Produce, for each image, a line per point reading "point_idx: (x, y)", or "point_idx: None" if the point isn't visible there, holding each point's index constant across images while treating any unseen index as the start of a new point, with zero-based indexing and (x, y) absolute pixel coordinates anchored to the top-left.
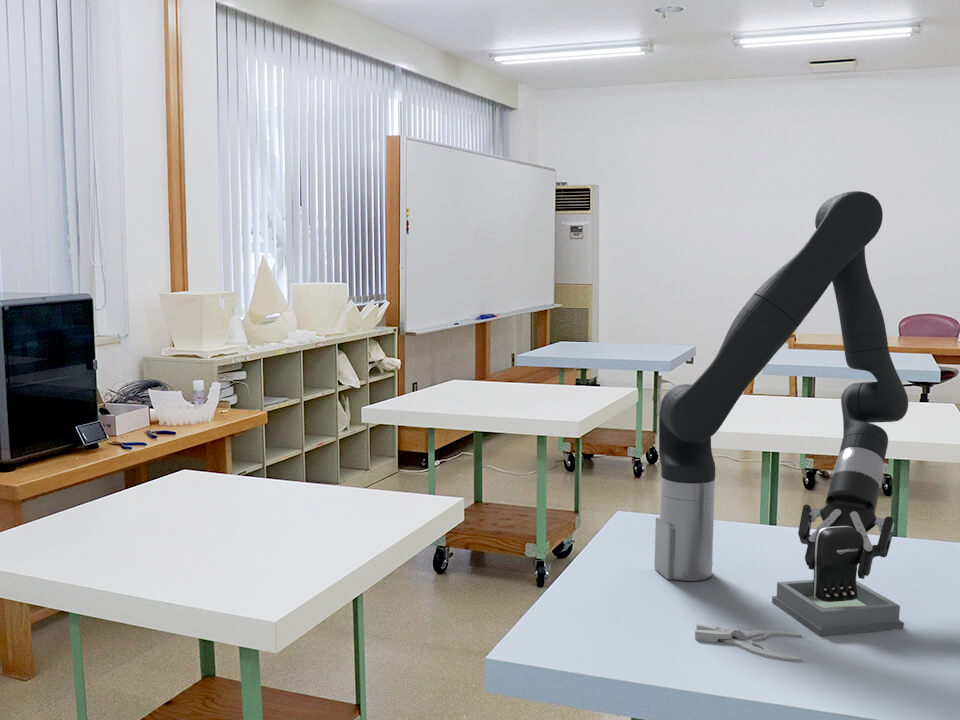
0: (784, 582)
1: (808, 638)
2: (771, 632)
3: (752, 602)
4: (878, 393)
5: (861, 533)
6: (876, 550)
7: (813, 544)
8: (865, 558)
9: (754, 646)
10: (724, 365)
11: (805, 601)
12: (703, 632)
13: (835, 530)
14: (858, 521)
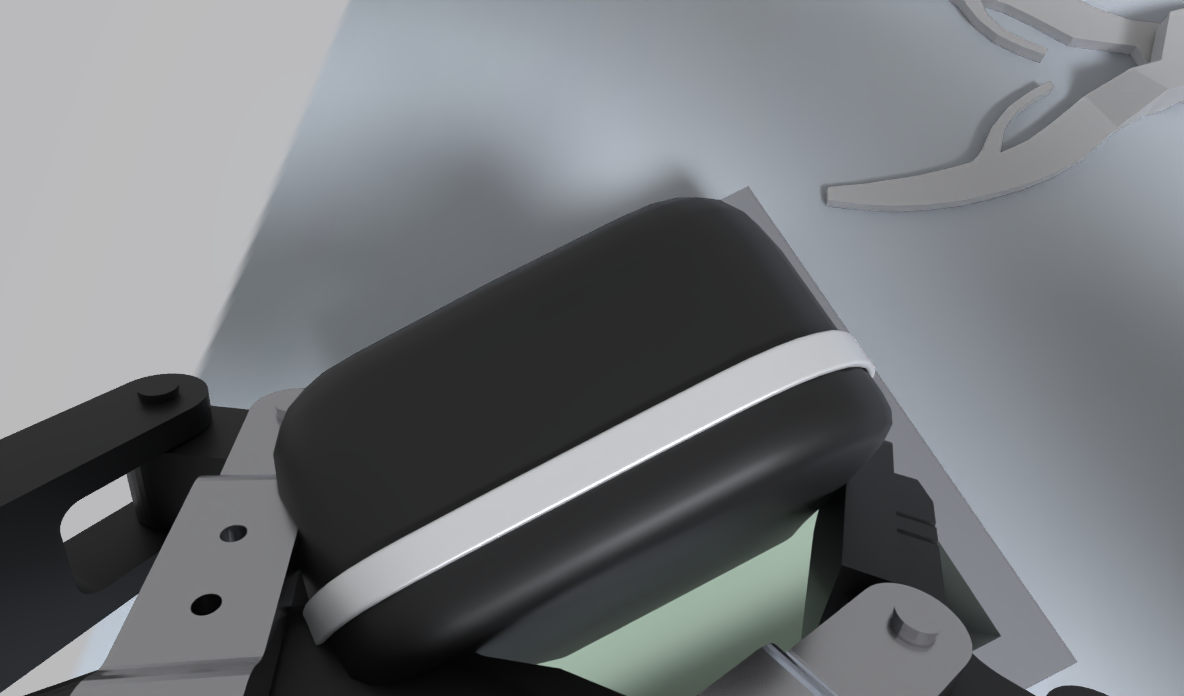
0: (1018, 670)
1: (797, 192)
2: (973, 170)
3: (1167, 628)
4: None
5: (262, 494)
6: (236, 415)
7: (881, 559)
8: None
9: (1025, 10)
10: None
11: (839, 319)
12: None
13: (618, 309)
14: (156, 660)
